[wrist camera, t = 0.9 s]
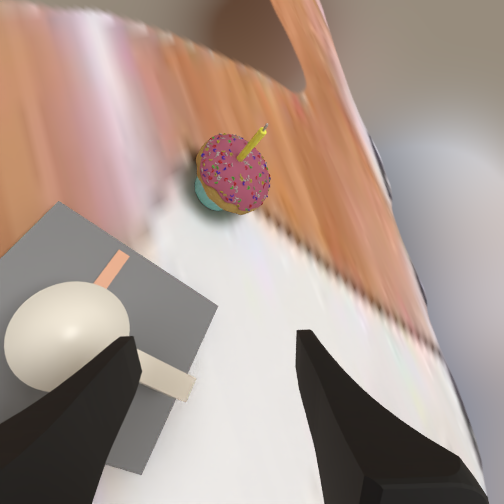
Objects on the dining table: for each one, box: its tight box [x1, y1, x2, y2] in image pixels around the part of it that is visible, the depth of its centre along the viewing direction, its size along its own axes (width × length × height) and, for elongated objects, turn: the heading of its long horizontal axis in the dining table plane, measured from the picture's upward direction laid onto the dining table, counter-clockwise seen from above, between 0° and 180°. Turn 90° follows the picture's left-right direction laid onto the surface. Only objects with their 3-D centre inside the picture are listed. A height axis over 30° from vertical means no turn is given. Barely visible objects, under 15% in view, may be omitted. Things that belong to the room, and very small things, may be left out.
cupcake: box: [195, 123, 270, 215], centre depth 29 cm, size 9×8×12 cm
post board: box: [0, 201, 218, 475], centre depth 21 cm, size 14×16×2 cm
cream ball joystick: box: [4, 281, 196, 402], centre depth 19 cm, size 12×6×4 cm, turn 64°
